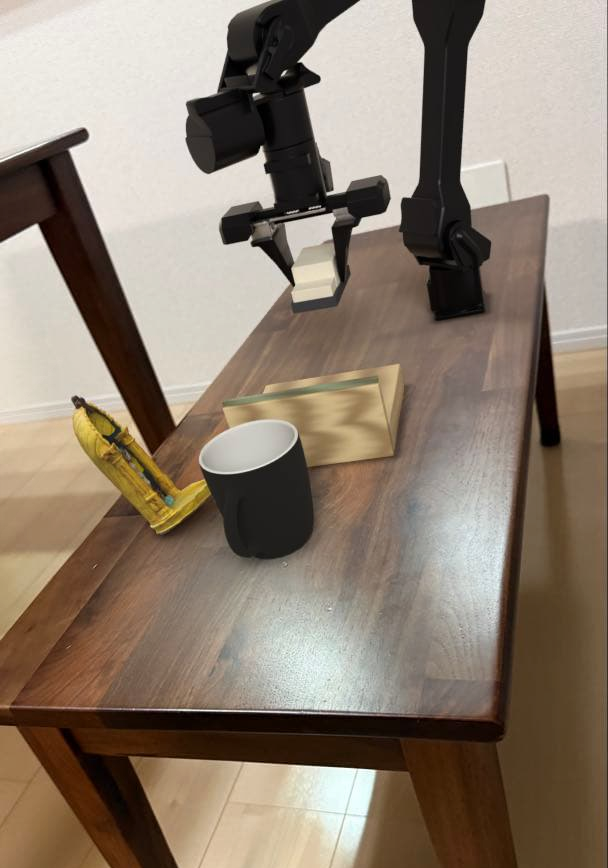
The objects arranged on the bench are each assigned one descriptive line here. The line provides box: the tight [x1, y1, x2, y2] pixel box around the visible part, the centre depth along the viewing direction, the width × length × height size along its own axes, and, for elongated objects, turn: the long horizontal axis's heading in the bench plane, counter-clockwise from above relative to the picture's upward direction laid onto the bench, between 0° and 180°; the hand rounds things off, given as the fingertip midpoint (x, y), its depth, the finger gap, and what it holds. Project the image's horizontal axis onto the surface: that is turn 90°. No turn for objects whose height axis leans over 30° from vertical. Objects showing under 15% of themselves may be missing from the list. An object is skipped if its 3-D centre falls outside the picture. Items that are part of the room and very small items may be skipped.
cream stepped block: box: [290, 241, 352, 314], centre depth 97 cm, size 5×10×4 cm, turn 169°
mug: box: [198, 419, 315, 560], centre depth 74 cm, size 12×9×10 cm
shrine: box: [70, 394, 212, 536], centre depth 81 cm, size 12×8×15 cm
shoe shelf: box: [221, 363, 405, 468], centre depth 91 cm, size 16×15×9 cm
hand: (321, 285), depth 98 cm, fingers closed on cream stepped block, 5 cm apart
